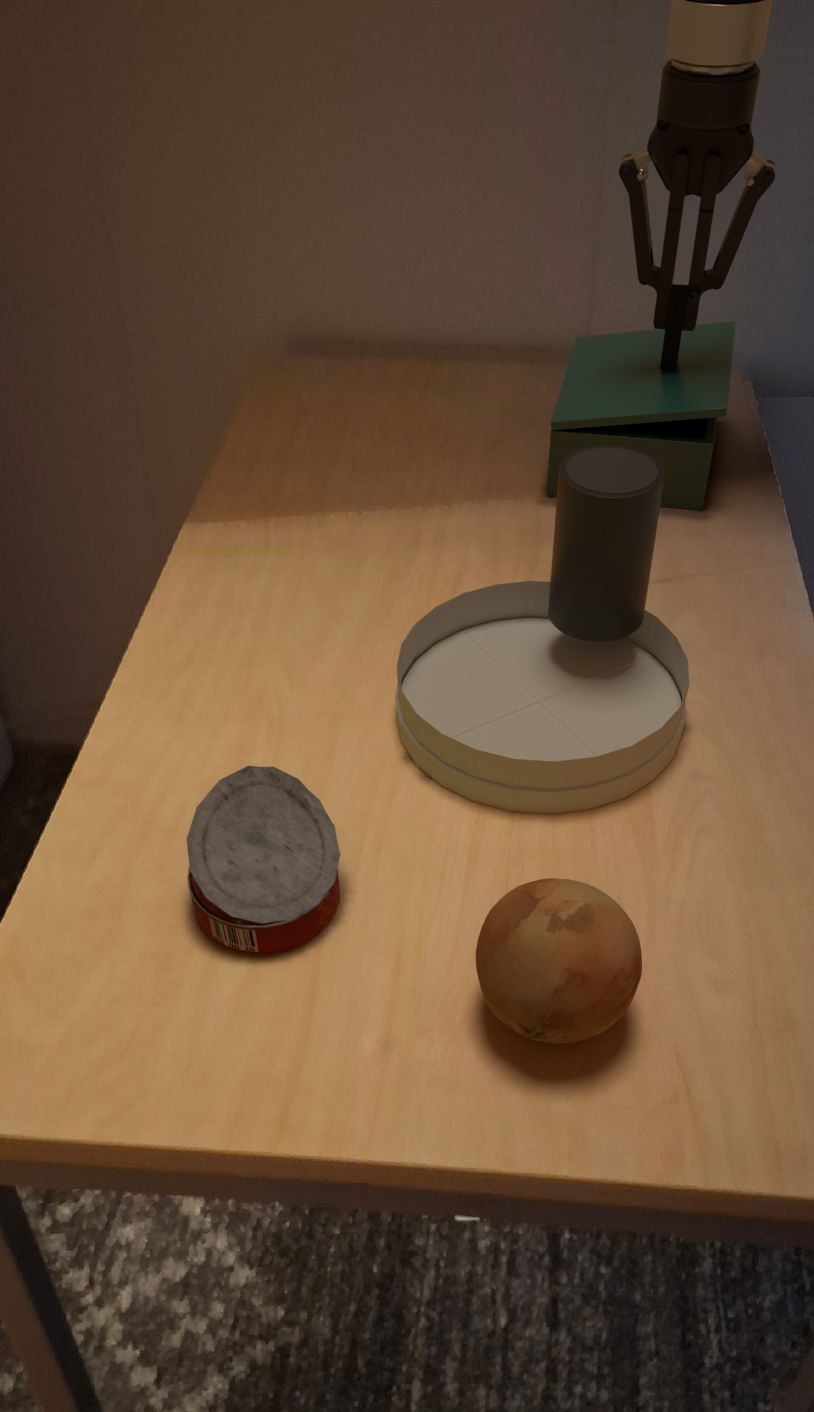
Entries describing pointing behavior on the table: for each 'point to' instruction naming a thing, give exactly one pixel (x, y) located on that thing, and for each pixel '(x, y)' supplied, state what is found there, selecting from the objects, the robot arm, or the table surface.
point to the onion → (558, 960)
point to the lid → (645, 378)
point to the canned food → (262, 862)
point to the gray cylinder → (604, 541)
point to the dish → (537, 703)
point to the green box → (669, 442)
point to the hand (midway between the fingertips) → (668, 363)
